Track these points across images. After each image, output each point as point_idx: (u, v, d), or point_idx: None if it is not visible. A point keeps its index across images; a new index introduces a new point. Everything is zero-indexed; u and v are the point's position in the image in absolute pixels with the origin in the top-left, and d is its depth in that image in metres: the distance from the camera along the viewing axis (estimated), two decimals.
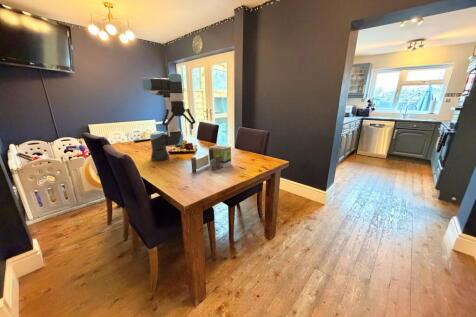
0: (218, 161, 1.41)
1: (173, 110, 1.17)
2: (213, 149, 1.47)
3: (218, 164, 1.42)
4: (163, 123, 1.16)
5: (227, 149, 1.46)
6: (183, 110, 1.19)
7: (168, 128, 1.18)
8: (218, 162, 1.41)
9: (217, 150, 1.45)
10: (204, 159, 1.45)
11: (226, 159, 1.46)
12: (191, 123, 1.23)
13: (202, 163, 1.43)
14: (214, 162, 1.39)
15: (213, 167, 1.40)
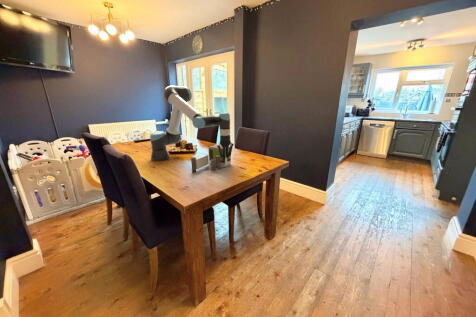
0: (218, 161, 1.41)
1: (221, 142, 1.38)
2: (213, 149, 1.48)
3: (218, 164, 1.42)
4: (222, 156, 1.41)
5: None
6: (229, 142, 1.40)
7: (225, 160, 1.43)
8: (218, 162, 1.41)
9: (216, 150, 1.46)
10: (204, 159, 1.45)
11: None
12: (227, 156, 1.43)
13: (202, 163, 1.43)
14: (214, 162, 1.39)
15: (213, 167, 1.40)
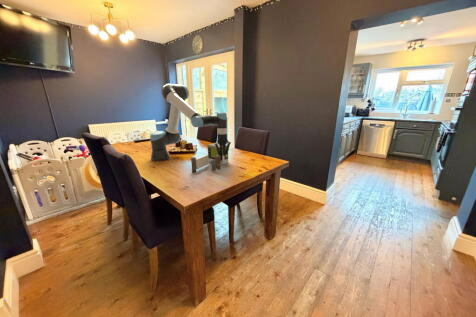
0: (218, 161, 1.41)
1: (219, 141, 1.43)
2: (211, 147, 1.54)
3: (218, 164, 1.42)
4: (219, 154, 1.46)
5: None
6: (226, 141, 1.46)
7: (222, 157, 1.48)
8: (218, 162, 1.41)
9: (214, 148, 1.51)
10: (204, 159, 1.45)
11: None
12: (224, 154, 1.48)
13: (202, 163, 1.43)
14: (214, 162, 1.39)
15: (213, 167, 1.40)
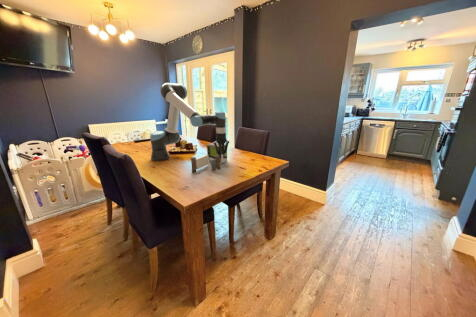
0: (218, 161, 1.41)
1: (218, 140, 1.46)
2: (210, 146, 1.57)
3: (218, 164, 1.42)
4: (218, 153, 1.49)
5: None
6: (225, 140, 1.49)
7: (221, 156, 1.51)
8: (218, 162, 1.41)
9: (213, 147, 1.54)
10: (204, 159, 1.45)
11: None
12: (223, 153, 1.51)
13: (202, 163, 1.43)
14: (214, 162, 1.39)
15: (213, 167, 1.40)
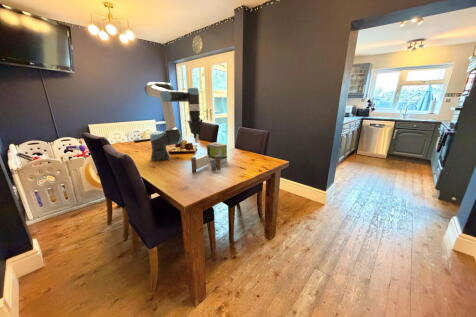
0: (218, 161, 1.41)
1: (193, 118, 1.36)
2: (210, 146, 1.57)
3: (218, 164, 1.42)
4: (194, 132, 1.38)
5: (222, 147, 1.54)
6: (199, 118, 1.41)
7: (197, 136, 1.42)
8: (218, 162, 1.41)
9: (213, 147, 1.54)
10: (204, 159, 1.45)
11: (220, 156, 1.54)
12: (198, 132, 1.42)
13: (202, 163, 1.43)
14: (214, 162, 1.39)
15: (213, 167, 1.40)
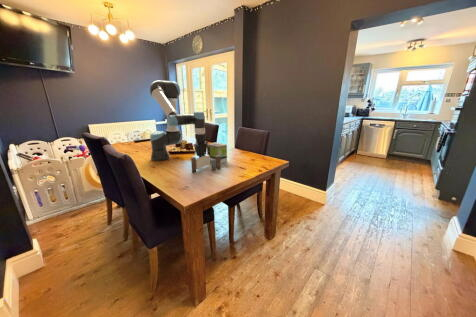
0: (218, 161, 1.41)
1: (198, 141, 1.38)
2: (210, 146, 1.57)
3: (218, 164, 1.42)
4: (199, 155, 1.41)
5: (222, 147, 1.54)
6: (204, 140, 1.43)
7: None
8: (218, 162, 1.41)
9: (213, 147, 1.54)
10: (205, 159, 1.44)
11: (220, 156, 1.54)
12: (203, 154, 1.45)
13: (203, 163, 1.43)
14: (214, 162, 1.39)
15: (213, 167, 1.40)
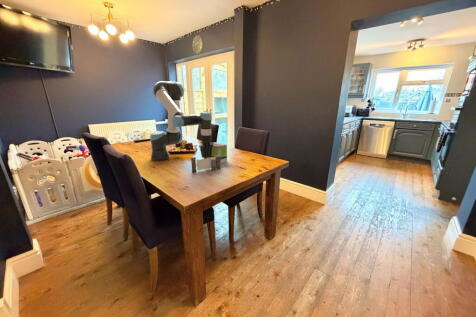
0: (218, 161, 1.41)
1: (204, 143, 1.35)
2: None
3: (218, 164, 1.42)
4: (204, 156, 1.38)
5: (222, 147, 1.54)
6: (210, 142, 1.40)
7: None
8: (218, 162, 1.41)
9: (213, 147, 1.54)
10: (209, 161, 1.39)
11: (220, 156, 1.54)
12: (209, 156, 1.42)
13: (206, 165, 1.39)
14: (214, 162, 1.39)
15: (213, 167, 1.40)
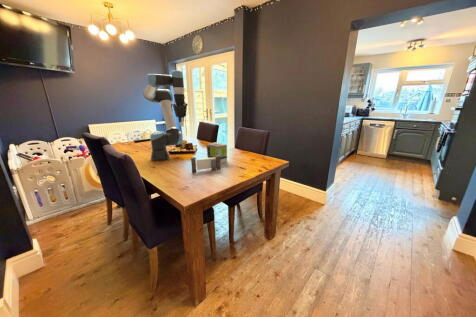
0: (218, 161, 1.41)
1: (177, 101, 1.38)
2: (210, 146, 1.57)
3: (218, 164, 1.42)
4: (178, 115, 1.41)
5: (222, 147, 1.54)
6: (184, 102, 1.43)
7: (182, 120, 1.44)
8: (218, 162, 1.41)
9: (213, 147, 1.54)
10: (209, 161, 1.39)
11: (220, 156, 1.54)
12: (183, 116, 1.45)
13: (206, 165, 1.39)
14: (214, 162, 1.39)
15: (213, 167, 1.40)
